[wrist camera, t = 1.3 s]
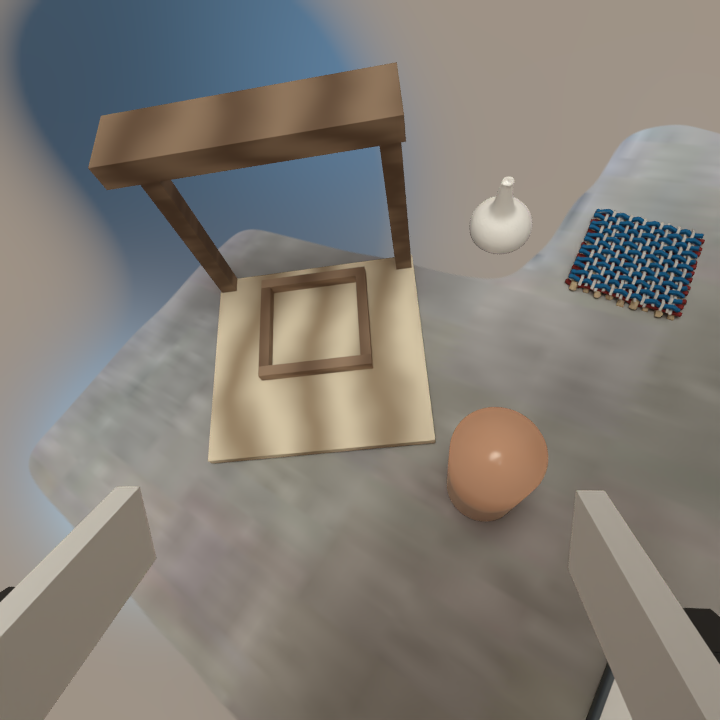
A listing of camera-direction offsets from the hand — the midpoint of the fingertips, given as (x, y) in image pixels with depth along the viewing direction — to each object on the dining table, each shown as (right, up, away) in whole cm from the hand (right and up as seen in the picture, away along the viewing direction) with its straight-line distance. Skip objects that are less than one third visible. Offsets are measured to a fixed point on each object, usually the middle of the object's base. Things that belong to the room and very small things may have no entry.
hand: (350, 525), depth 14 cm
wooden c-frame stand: (-4, +5, +34) cm, 35 cm away
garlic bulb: (+15, +18, +37) cm, 44 cm away
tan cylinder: (+11, -6, +26) cm, 29 cm away
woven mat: (+27, +14, +34) cm, 46 cm away
